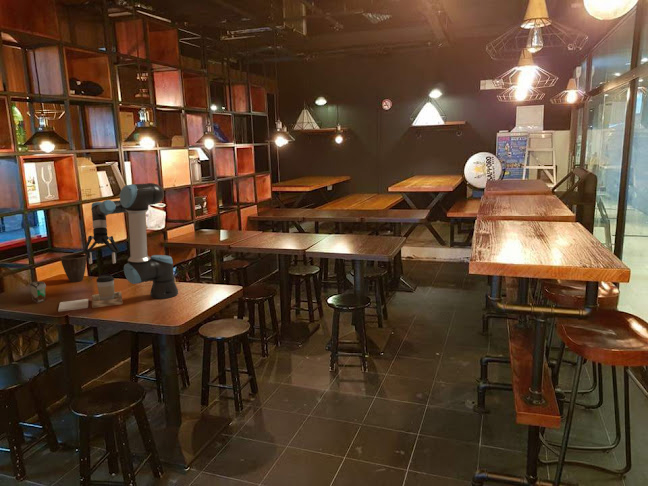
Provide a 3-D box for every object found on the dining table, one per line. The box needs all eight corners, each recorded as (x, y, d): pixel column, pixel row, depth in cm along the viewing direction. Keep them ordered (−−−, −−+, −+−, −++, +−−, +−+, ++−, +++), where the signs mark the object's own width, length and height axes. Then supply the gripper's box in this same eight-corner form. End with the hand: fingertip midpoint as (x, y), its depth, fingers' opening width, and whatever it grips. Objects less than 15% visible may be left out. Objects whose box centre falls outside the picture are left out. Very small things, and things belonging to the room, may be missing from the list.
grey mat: (88, 300, 276) (88, 298, 276) (88, 307, 263) (87, 306, 263) (60, 304, 270) (59, 302, 270) (58, 311, 258) (58, 309, 258)
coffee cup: (109, 305, 268) (107, 278, 265) (94, 304, 270) (92, 277, 267) (119, 299, 276) (117, 274, 274) (105, 299, 278) (102, 273, 275)
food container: (51, 301, 275) (49, 284, 273) (39, 304, 271) (36, 286, 269) (43, 296, 284) (41, 280, 282) (31, 299, 279) (29, 282, 277)
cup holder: (121, 296, 283) (120, 291, 282) (122, 303, 269) (122, 298, 269) (92, 300, 277) (92, 294, 276) (92, 307, 263) (91, 302, 263)
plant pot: (60, 280, 318) (57, 256, 315) (84, 276, 328) (82, 252, 324) (67, 285, 307) (64, 260, 304) (92, 280, 317) (89, 256, 314)
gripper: (118, 230, 305) (121, 264, 301) (75, 229, 287) (77, 265, 284) (123, 227, 300) (126, 261, 296) (80, 226, 282) (82, 262, 278)
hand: (102, 263), depth 290 cm, fingers open, 13 cm apart
